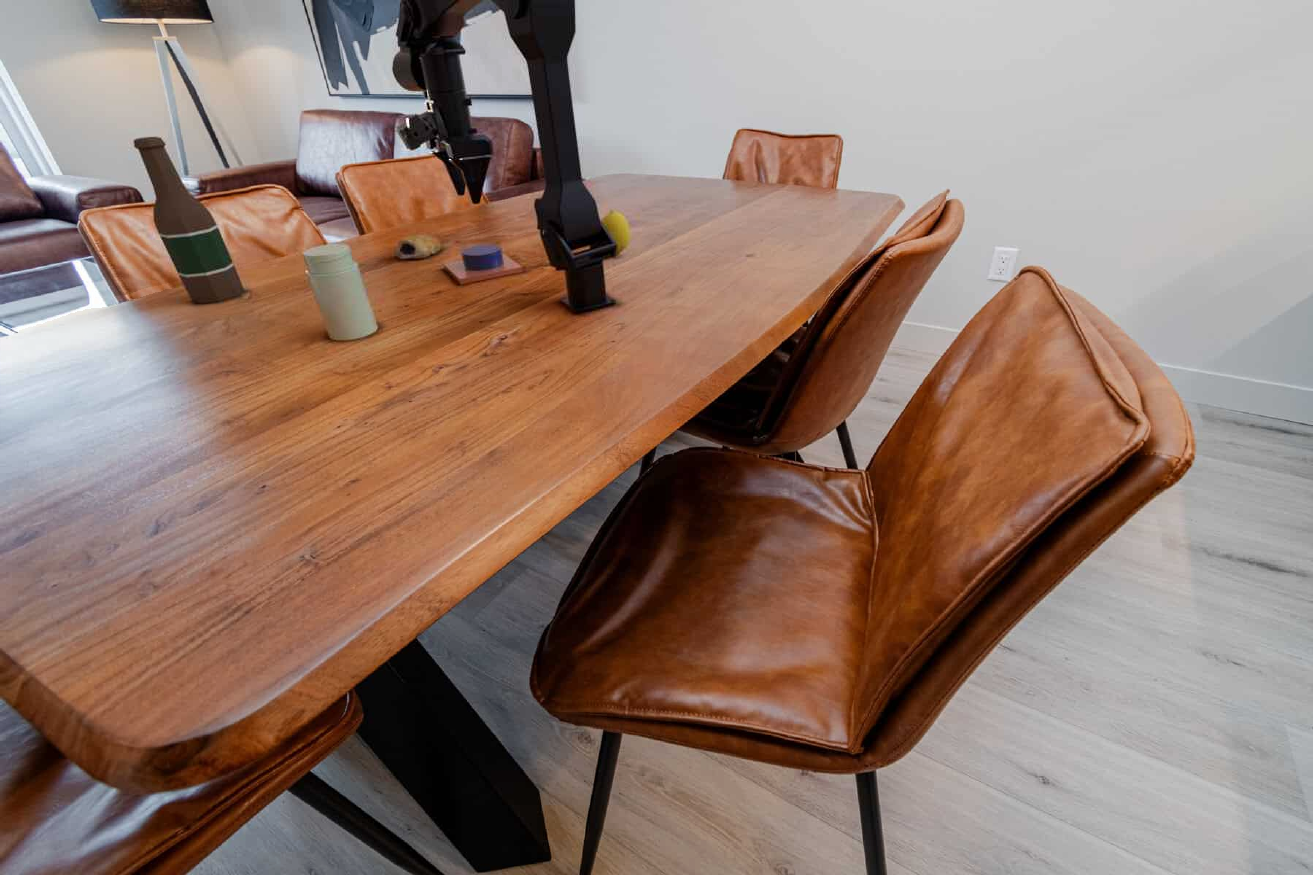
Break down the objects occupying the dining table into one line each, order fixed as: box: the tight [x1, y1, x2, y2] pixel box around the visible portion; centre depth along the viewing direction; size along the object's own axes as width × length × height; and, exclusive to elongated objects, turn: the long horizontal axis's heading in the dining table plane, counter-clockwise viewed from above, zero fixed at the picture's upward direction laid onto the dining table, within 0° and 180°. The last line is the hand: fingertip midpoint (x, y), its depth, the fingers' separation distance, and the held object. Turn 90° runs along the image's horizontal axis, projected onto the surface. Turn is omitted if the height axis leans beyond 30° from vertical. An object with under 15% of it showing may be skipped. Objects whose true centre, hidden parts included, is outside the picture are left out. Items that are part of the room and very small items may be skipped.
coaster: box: [443, 252, 524, 285], centre depth 106 cm, size 11×11×1 cm
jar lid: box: [460, 244, 504, 270], centre depth 105 cm, size 7×7×3 cm
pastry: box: [394, 234, 442, 260], centre depth 117 cm, size 9×7×4 cm
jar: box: [302, 243, 379, 342], centre depth 81 cm, size 6×6×11 cm
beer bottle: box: [133, 136, 244, 305], centre depth 94 cm, size 8×8×24 cm
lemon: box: [600, 209, 631, 257], centre depth 108 cm, size 6×6×8 cm
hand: (468, 199), depth 100 cm, fingers open, 9 cm apart
